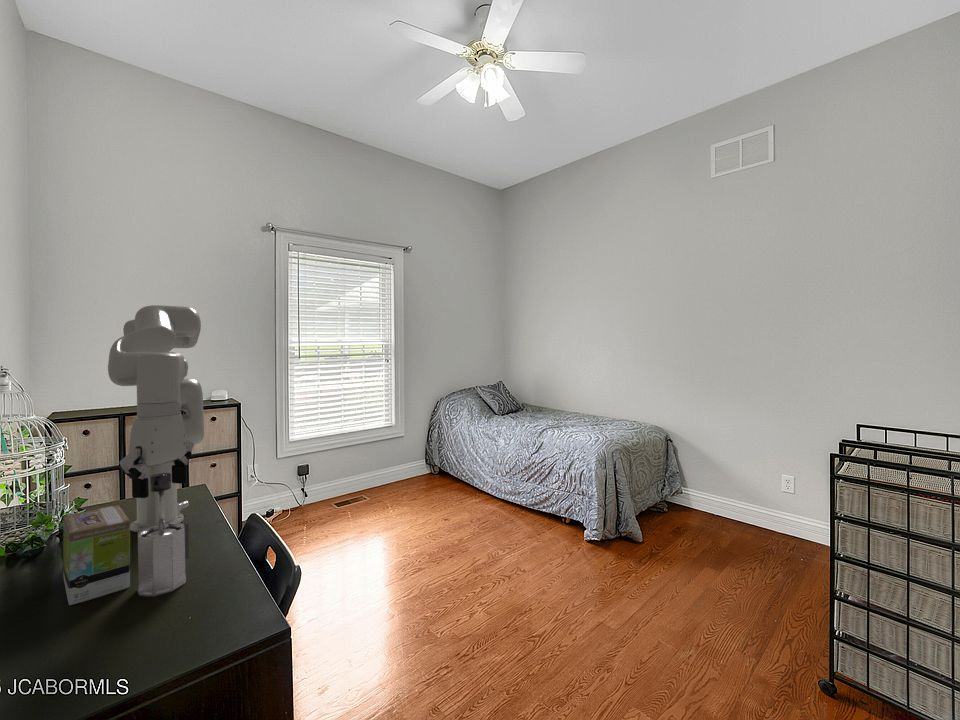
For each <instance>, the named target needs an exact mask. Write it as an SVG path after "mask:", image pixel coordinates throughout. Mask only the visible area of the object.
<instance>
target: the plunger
mask: <svg viewBox="0 0 960 720" xmlns="http://www.w3.org/2000/svg"><path fill="white" fill-rule="evenodd" d="M170 488H171V473H159V474H155V475H152V476H150V491H151V492H158V519H159V530H158V531H155V532H152V533H150V534H148V535H147V536H146V537H151V538H154V537H159V536H164V535H169V534H172V533H174V532H176V531H177V530H176V529H164V491H165V490H168V489H170Z"/></svg>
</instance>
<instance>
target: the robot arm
mask: <svg viewBox="0 0 960 720" xmlns="http://www.w3.org/2000/svg"><path fill="white" fill-rule="evenodd" d="M201 323H202V322H201V318H200V314H199V313H198V311H196V309H194V308H192V307H191V306H190V307H189V306H179V305H177V306H175V305H159V304H158V305H156V304H154V305H152V304H151V305H146V306H142V308H140V309H138V311H136V313H135V316H134V319H130V320H128V321H126V322H125V323H124V325H123V331H122V333H123V336H121V337H119V338H118V339H117V340H115V341H114V342H113V344H112V345H111V347H110V350H109V355H108V361H107V363H108V364H107V372H108V373H107V374H108V378H109V379H110V381H111V382H112V383H113V384H115V385H116V386H121V387H134V386H135V387H136V416H137V417H136V419H135V418H134V419H133V421H132V425H131V430H130V436H129V447H128V449H129V450H128V453H127V455H125V456H124V457H123V458H122V459H121V460H119V465H120V467H121V469H122V470H123V473H124V474H125V475H126V476H127V478H128V479H129V480H131V497H132V498H135V499H136V520H135V521H133V522H131V523H130V532H134V533H139V532H141V531H143V530H145V529H148V528H150V527H152V526H157V525H159V519H158V492H151V491H150V476H152V475H155V474H159V473H171V488H170V489H168V490H165V491H164V524H167V523H182V522H183V521H184V518H185V517H184V516H185V515H184V514H183V513H181V512H180V511H182V510H183V509H186V508H187V507H189V506H190V502H189V501H188V500H185V501H182V502H178V489H177V488H178V484H181V485H183V484H186V483H187V477H188V476H187V473H188V472H187V465H188V464H189V462H190V461H189V459H190V458H191V456H192V454H193V448H194V446H195V445H198V444H200V443H202V441H203V439H204V435H205V419H204V418H205V417H204V416H205V415H204V395H203V388H202V385H201V383H200V382H199V381H198V380H196V379H194V378H186V377H187V376H188V373H189V371H188V370H189V365H188V360H187V359H186V358H185V357H184V356H183V355H182V354H181V353H179V352H176V351H172V350H173V349H191V348H194V347H195V346H196V345H197V343H198V341H199V336H200V334H201V328H202V324H201ZM181 411H184V412H185V414H181V413H182V412H181Z"/></svg>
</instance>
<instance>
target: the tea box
mask: <svg viewBox="0 0 960 720" xmlns="http://www.w3.org/2000/svg"><path fill="white" fill-rule="evenodd" d="M62 518H63V519H62V520H63V521H62V560H63V562H62V566H63V567H62V571H63V572H62V574H63V576H62V578H63V582H64V587H65V594H66V598H67V602H68V606H72V605H76V604H80V603H85V602H87V601H90V600H94V599H97V598H100V597H103V596H107V595H109V594H112V593H113V594H114V593H116V592H119V591H123V590H125V589H128V588H130V586H131V530H130V525H131V521H130V518H129V517H128V516H127V515H126V513H125V512H124V510H123V509H122V508H121V507H120V505H119V504H118V505H111V506H106V507H102V508H101V507H100V508H96V509H91V510H86V511H81V512H75V513H71V514H66V515H63V517H62Z"/></svg>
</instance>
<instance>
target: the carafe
mask: <svg viewBox="0 0 960 720" xmlns="http://www.w3.org/2000/svg"><path fill="white" fill-rule="evenodd" d="M189 524H190V523H188V522H183V523H182V522H180V523H167V524H164V529H176V530H177V531H176V532H174V533H172V534H169V535H164V536H159V537H154V538H151V537H146V536H147V535H148V534H150V533H152V532H155V531H158V530H159V525H157V526H152V527H150V528H148V529H145V530H143V531H141V532H137V557H138V559H137V560H138V561H137V562H138V564H137V565H138V586H137V594H138V596H139V597H147V598H149V597H153V598H154V597H159V596H161V595H166V594H169V593H171V592H174V591H176V590H178V589H179V588H181V587H182V586H184V585H185V584H186V581H187V575H186V560H188V559H190V538H189V536H190V534H189V533H190V532H189V530H190V529H189Z"/></svg>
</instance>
